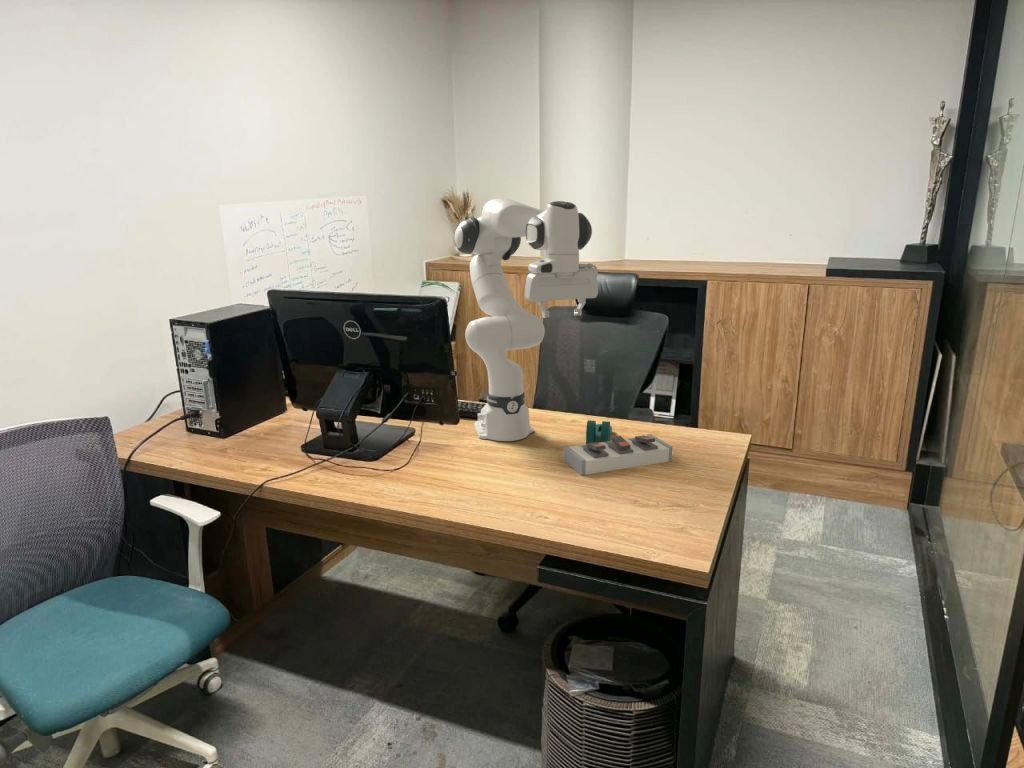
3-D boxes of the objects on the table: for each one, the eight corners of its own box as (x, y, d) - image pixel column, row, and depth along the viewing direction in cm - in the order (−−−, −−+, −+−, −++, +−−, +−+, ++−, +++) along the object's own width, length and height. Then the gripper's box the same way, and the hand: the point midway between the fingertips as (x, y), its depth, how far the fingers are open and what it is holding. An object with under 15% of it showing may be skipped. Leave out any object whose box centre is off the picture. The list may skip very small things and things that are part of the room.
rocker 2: (611, 440, 203) (611, 436, 203) (620, 438, 204) (620, 435, 204) (621, 449, 198) (621, 446, 198) (630, 448, 199) (630, 445, 199)
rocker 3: (635, 439, 206) (635, 436, 206) (644, 438, 207) (644, 435, 207) (645, 443, 200) (645, 439, 200) (655, 441, 201) (654, 438, 201)
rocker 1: (586, 446, 201) (586, 443, 200) (595, 445, 202) (595, 441, 201) (596, 450, 195) (595, 446, 195) (605, 449, 196) (605, 445, 196)
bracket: (607, 450, 213) (608, 425, 211) (585, 448, 215) (586, 424, 213) (612, 431, 230) (613, 408, 228) (592, 430, 232) (592, 407, 230)
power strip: (563, 460, 204) (563, 445, 203) (650, 447, 214) (650, 432, 213) (581, 475, 193) (581, 459, 192) (672, 460, 203) (672, 445, 202)
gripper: (592, 262, 191) (591, 312, 195) (522, 265, 185) (522, 317, 188) (602, 264, 186) (601, 315, 189) (531, 267, 179) (531, 320, 182)
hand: (561, 316), depth 189 cm, fingers open, 8 cm apart
